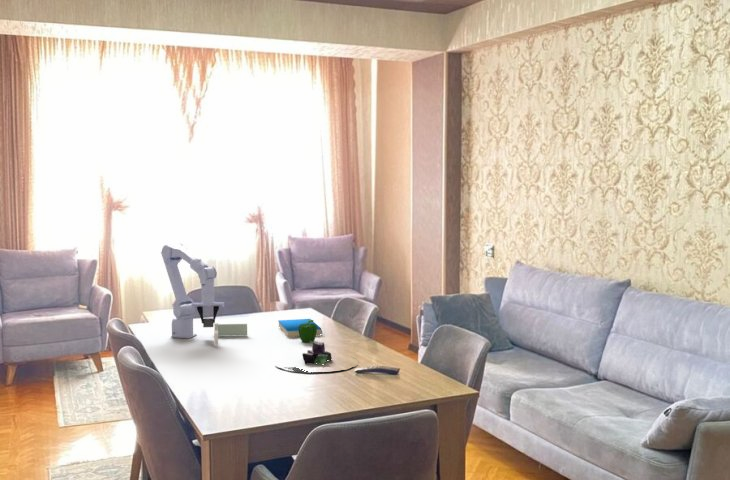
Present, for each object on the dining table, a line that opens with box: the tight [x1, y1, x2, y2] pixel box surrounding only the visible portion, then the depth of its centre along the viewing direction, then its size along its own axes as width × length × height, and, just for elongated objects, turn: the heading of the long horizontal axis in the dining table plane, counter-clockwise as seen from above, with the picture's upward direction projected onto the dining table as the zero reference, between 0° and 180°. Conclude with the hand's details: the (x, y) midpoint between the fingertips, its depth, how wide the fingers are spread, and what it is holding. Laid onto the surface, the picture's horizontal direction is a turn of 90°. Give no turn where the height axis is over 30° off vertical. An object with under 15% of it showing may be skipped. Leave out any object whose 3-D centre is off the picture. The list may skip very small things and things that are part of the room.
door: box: [218, 323, 248, 337], centre depth 353 cm, size 14×2×6 cm, turn 96°
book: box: [277, 318, 323, 338], centre depth 365 cm, size 17×4×25 cm
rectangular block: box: [213, 320, 219, 348], centre depth 345 cm, size 28×2×6 cm, turn 11°
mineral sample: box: [274, 342, 333, 374], centre depth 304 cm, size 35×35×9 cm
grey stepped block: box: [202, 317, 214, 328], centre depth 345 cm, size 8×4×4 cm, turn 11°
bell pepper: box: [299, 319, 317, 343], centre depth 342 cm, size 8×8×10 cm
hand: (208, 322), depth 342 cm, fingers closed on grey stepped block, 4 cm apart
